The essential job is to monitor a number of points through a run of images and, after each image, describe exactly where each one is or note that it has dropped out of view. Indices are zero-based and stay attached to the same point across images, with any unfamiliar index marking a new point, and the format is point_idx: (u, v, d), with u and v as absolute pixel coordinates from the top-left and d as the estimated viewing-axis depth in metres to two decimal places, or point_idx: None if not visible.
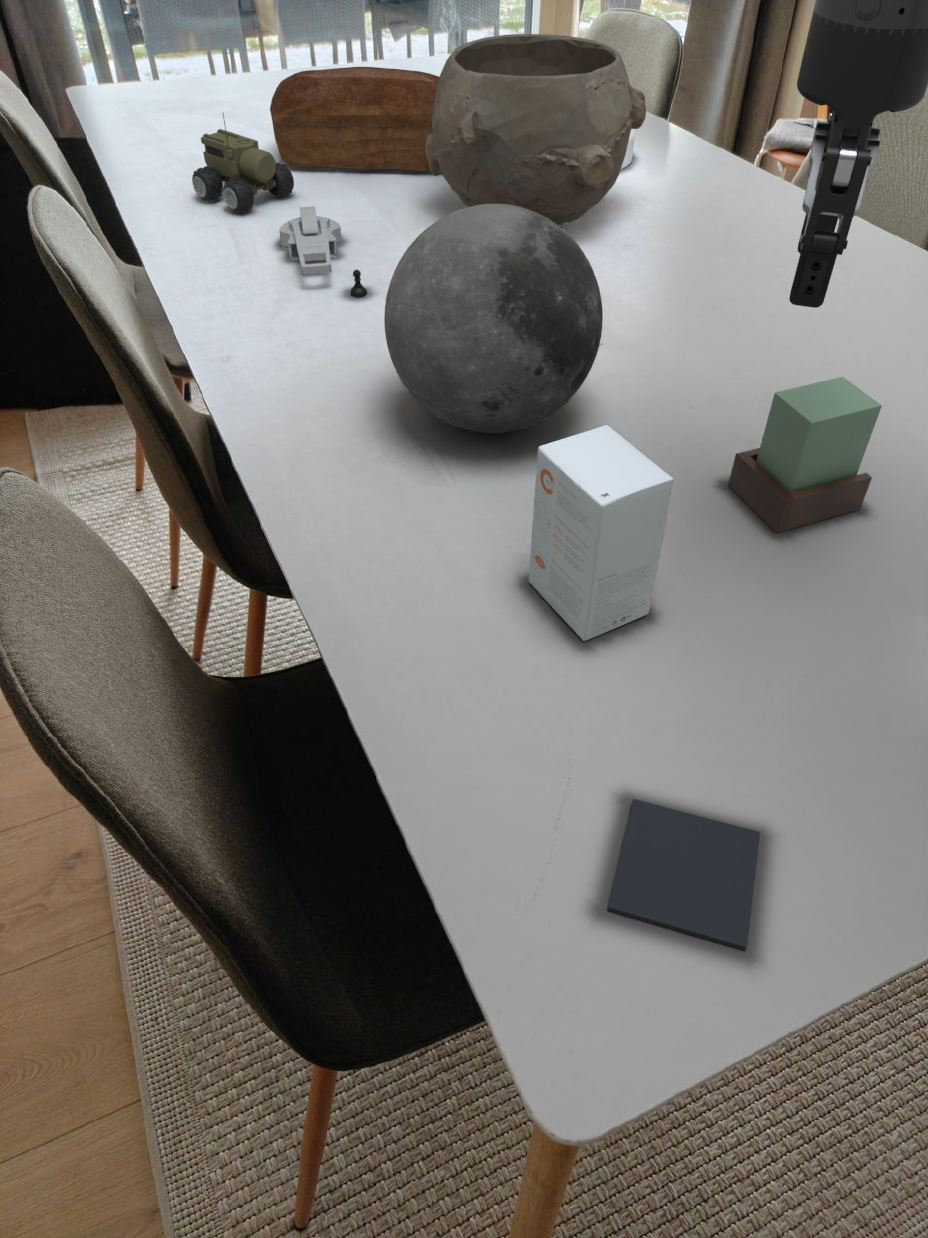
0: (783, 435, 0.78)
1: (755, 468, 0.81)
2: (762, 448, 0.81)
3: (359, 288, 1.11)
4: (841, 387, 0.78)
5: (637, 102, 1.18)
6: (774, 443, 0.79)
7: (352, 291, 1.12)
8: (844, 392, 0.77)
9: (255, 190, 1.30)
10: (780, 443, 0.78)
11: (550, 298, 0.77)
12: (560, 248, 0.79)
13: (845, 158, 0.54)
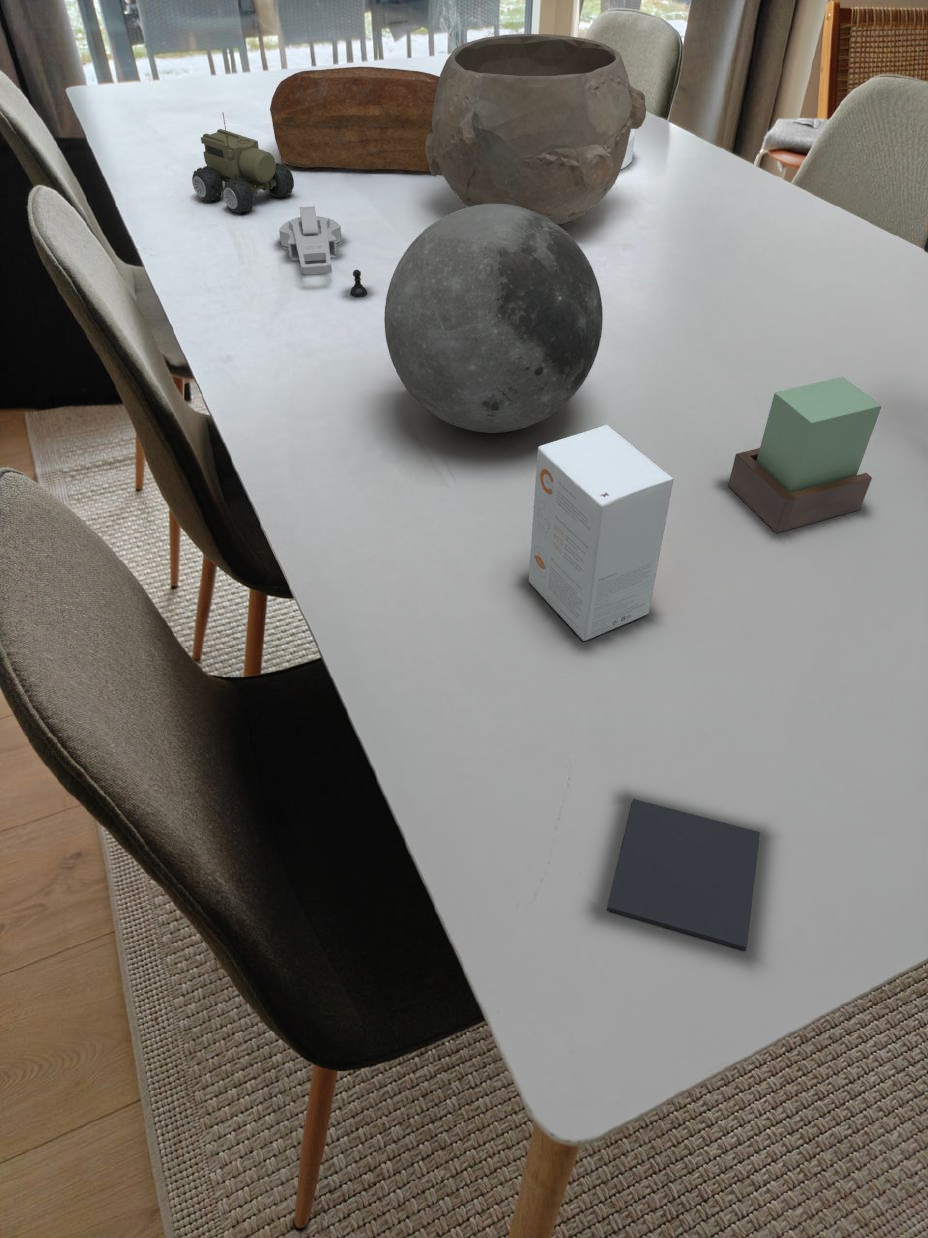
0: (783, 435, 0.78)
1: (755, 468, 0.81)
2: (762, 448, 0.81)
3: (359, 288, 1.11)
4: (841, 387, 0.78)
5: (637, 102, 1.18)
6: (774, 443, 0.79)
7: (352, 291, 1.12)
8: (844, 392, 0.77)
9: (255, 190, 1.30)
10: (780, 443, 0.78)
11: (550, 298, 0.77)
12: (560, 248, 0.79)
13: None
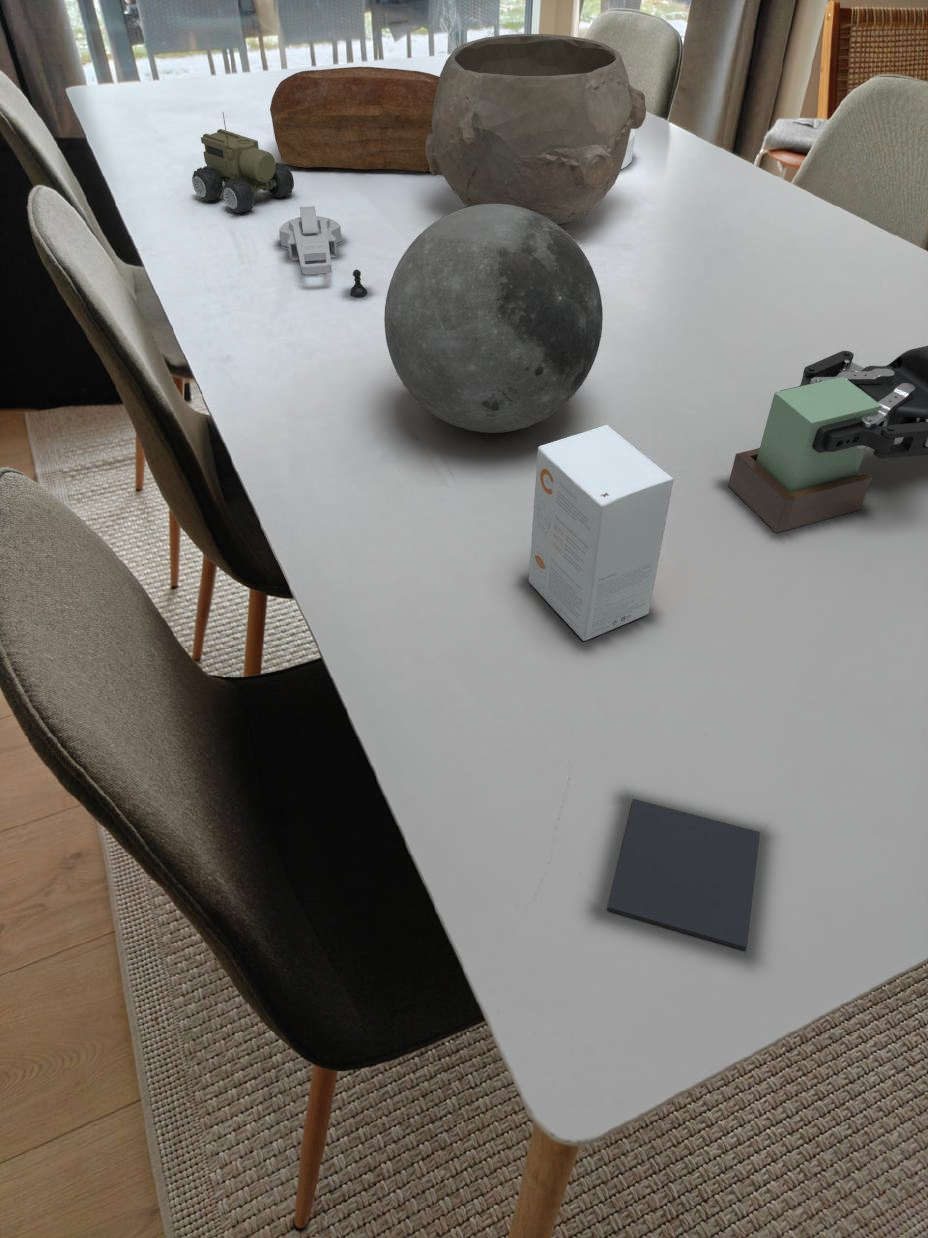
0: (783, 435, 0.78)
1: (755, 468, 0.81)
2: (762, 448, 0.81)
3: (359, 288, 1.11)
4: (841, 387, 0.78)
5: (637, 102, 1.18)
6: (774, 443, 0.79)
7: (352, 291, 1.12)
8: (844, 392, 0.77)
9: (255, 190, 1.30)
10: (780, 443, 0.78)
11: (550, 298, 0.77)
12: (560, 248, 0.79)
13: None
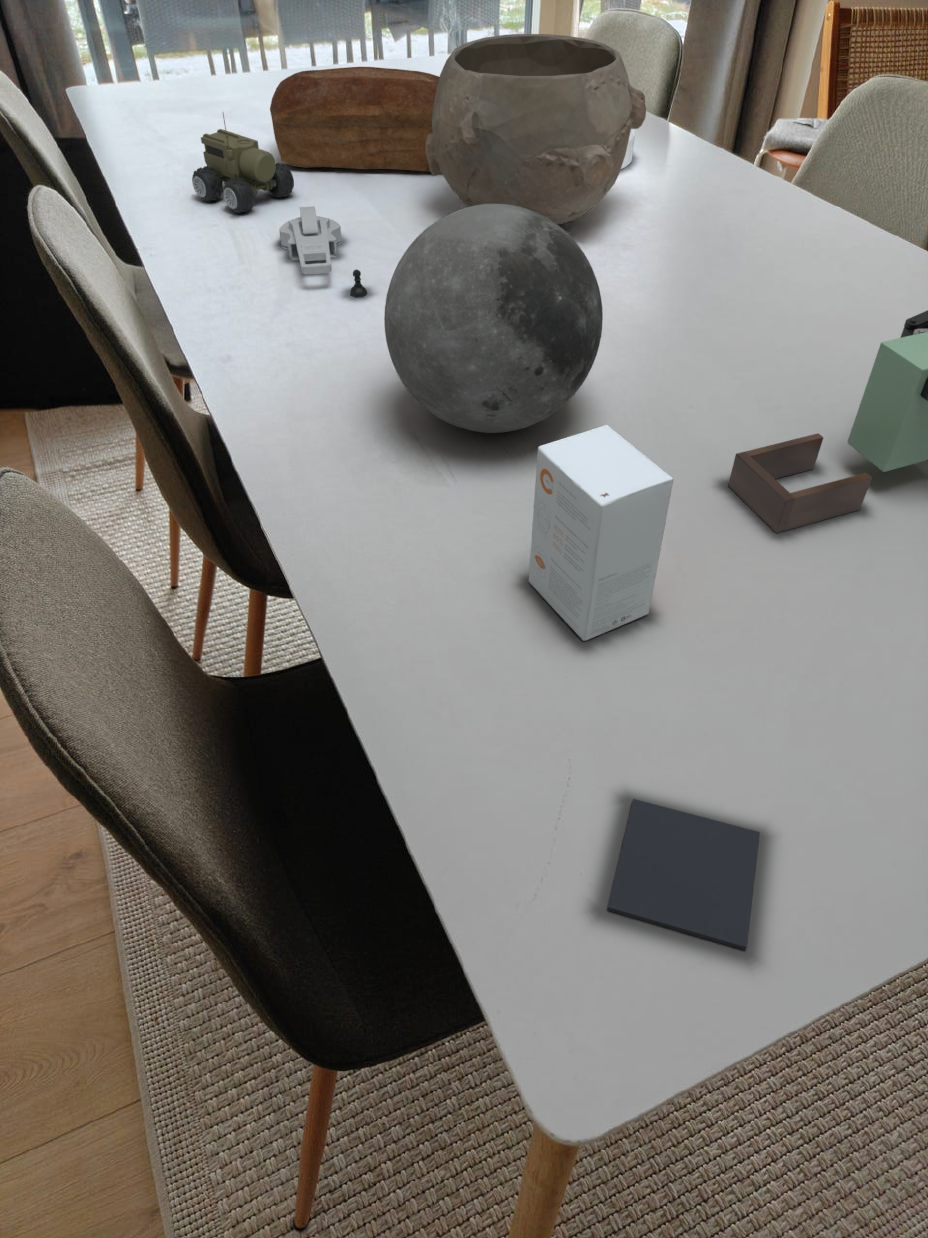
0: (890, 384, 0.78)
1: (755, 468, 0.81)
2: (864, 399, 0.82)
3: (359, 288, 1.11)
4: None
5: (637, 102, 1.18)
6: (878, 394, 0.80)
7: (352, 291, 1.12)
8: None
9: (255, 190, 1.30)
10: (886, 393, 0.79)
11: (550, 298, 0.77)
12: (560, 248, 0.79)
13: None
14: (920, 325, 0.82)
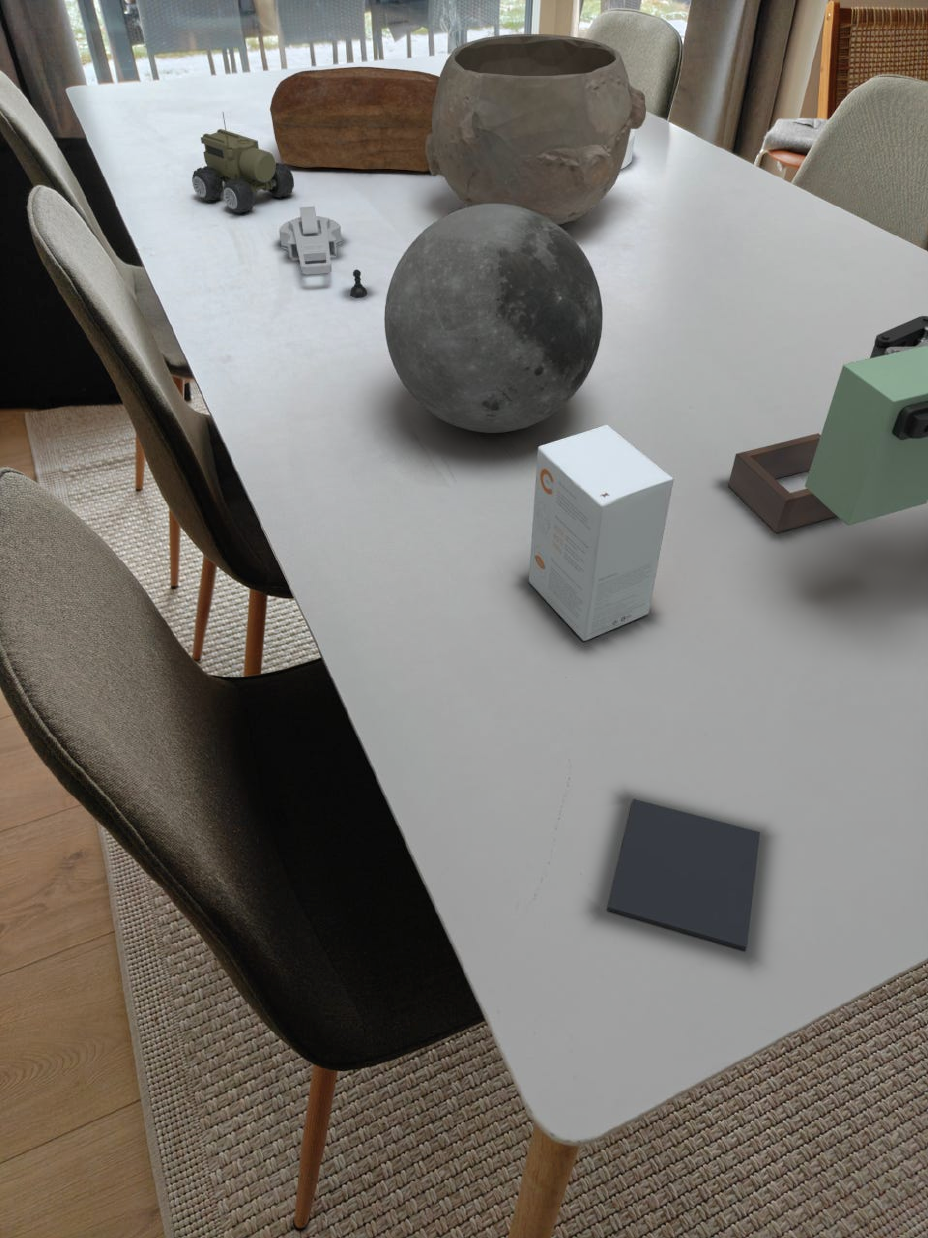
0: (854, 418, 0.62)
1: (755, 468, 0.81)
2: (824, 435, 0.65)
3: (359, 288, 1.11)
4: (926, 358, 0.62)
5: (637, 102, 1.18)
6: (840, 429, 0.64)
7: (352, 291, 1.12)
8: None
9: (255, 190, 1.30)
10: (849, 429, 0.63)
11: (550, 298, 0.77)
12: (560, 248, 0.79)
13: None
14: (894, 342, 0.65)
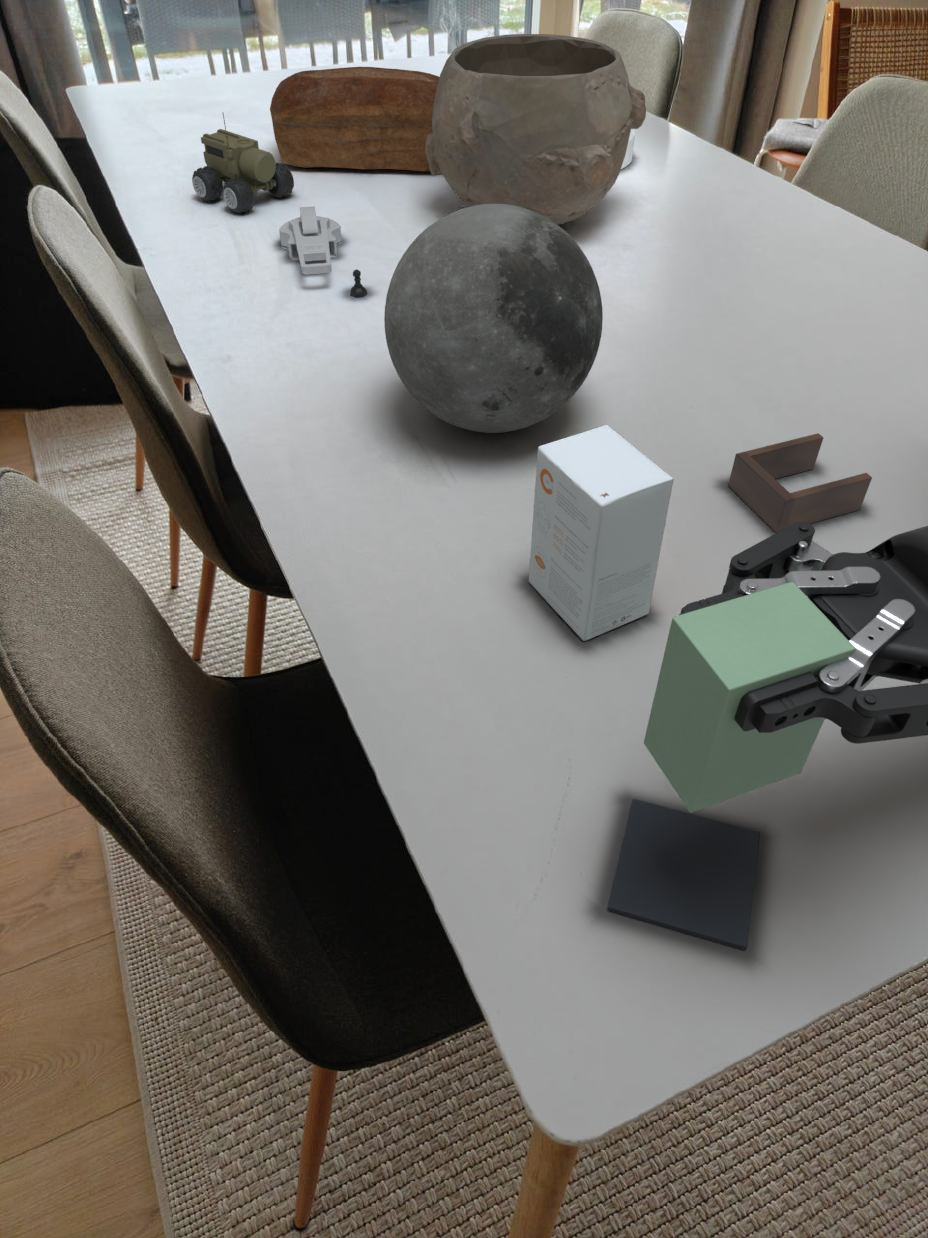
0: (688, 689, 0.45)
1: (755, 468, 0.81)
2: (659, 693, 0.49)
3: (359, 288, 1.11)
4: (788, 606, 0.46)
5: (637, 102, 1.18)
6: (675, 695, 0.47)
7: (352, 291, 1.12)
8: (793, 618, 0.45)
9: (255, 190, 1.30)
10: (684, 700, 0.46)
11: (550, 298, 0.77)
12: (560, 248, 0.79)
13: None
14: (754, 568, 0.49)
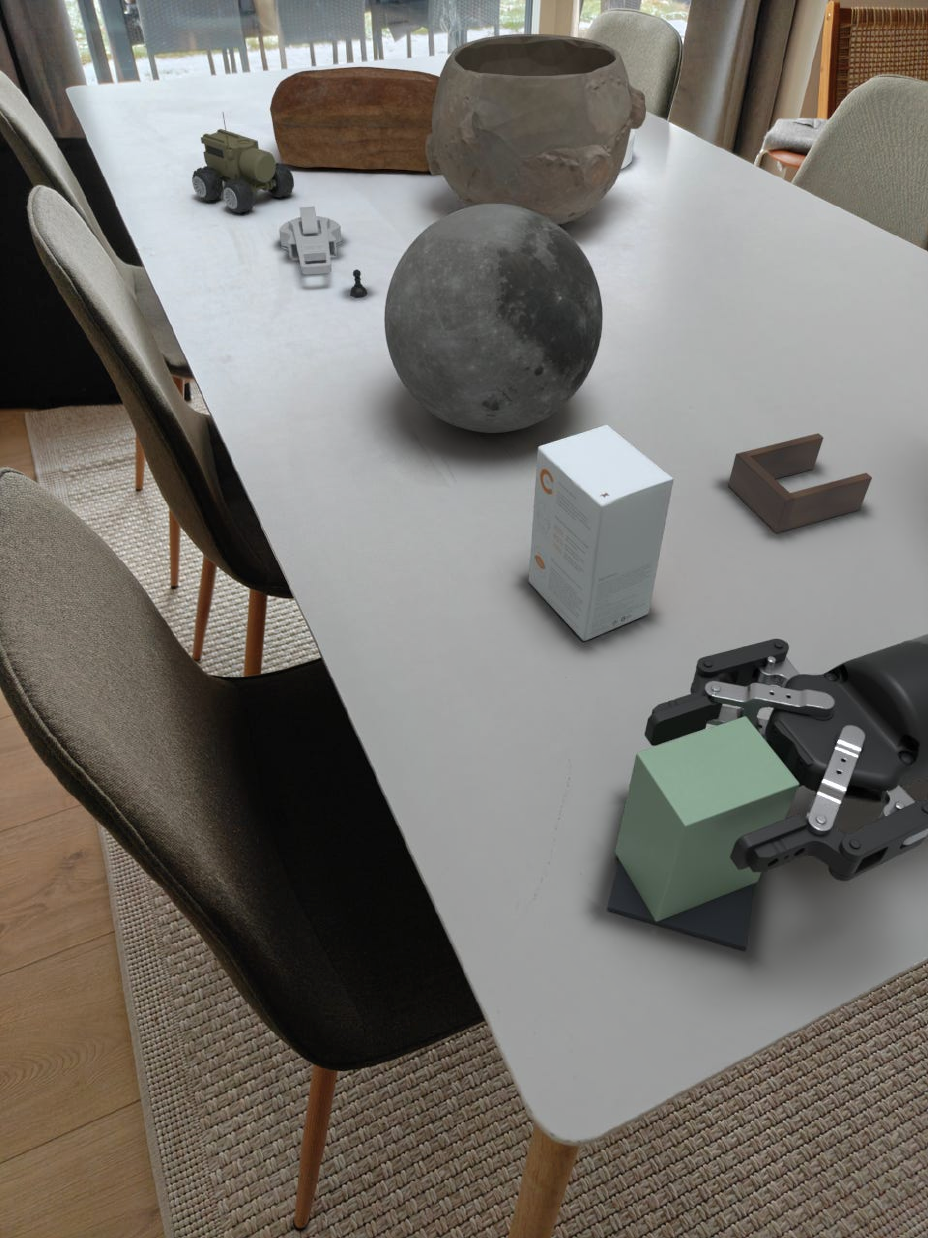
0: (651, 816, 0.51)
1: (755, 468, 0.81)
2: (627, 814, 0.54)
3: (359, 288, 1.11)
4: (740, 741, 0.51)
5: (637, 102, 1.18)
6: (640, 818, 0.52)
7: (352, 291, 1.12)
8: (744, 754, 0.50)
9: (255, 190, 1.30)
10: (648, 825, 0.51)
11: (550, 298, 0.77)
12: (560, 248, 0.79)
13: None
14: (717, 672, 0.54)
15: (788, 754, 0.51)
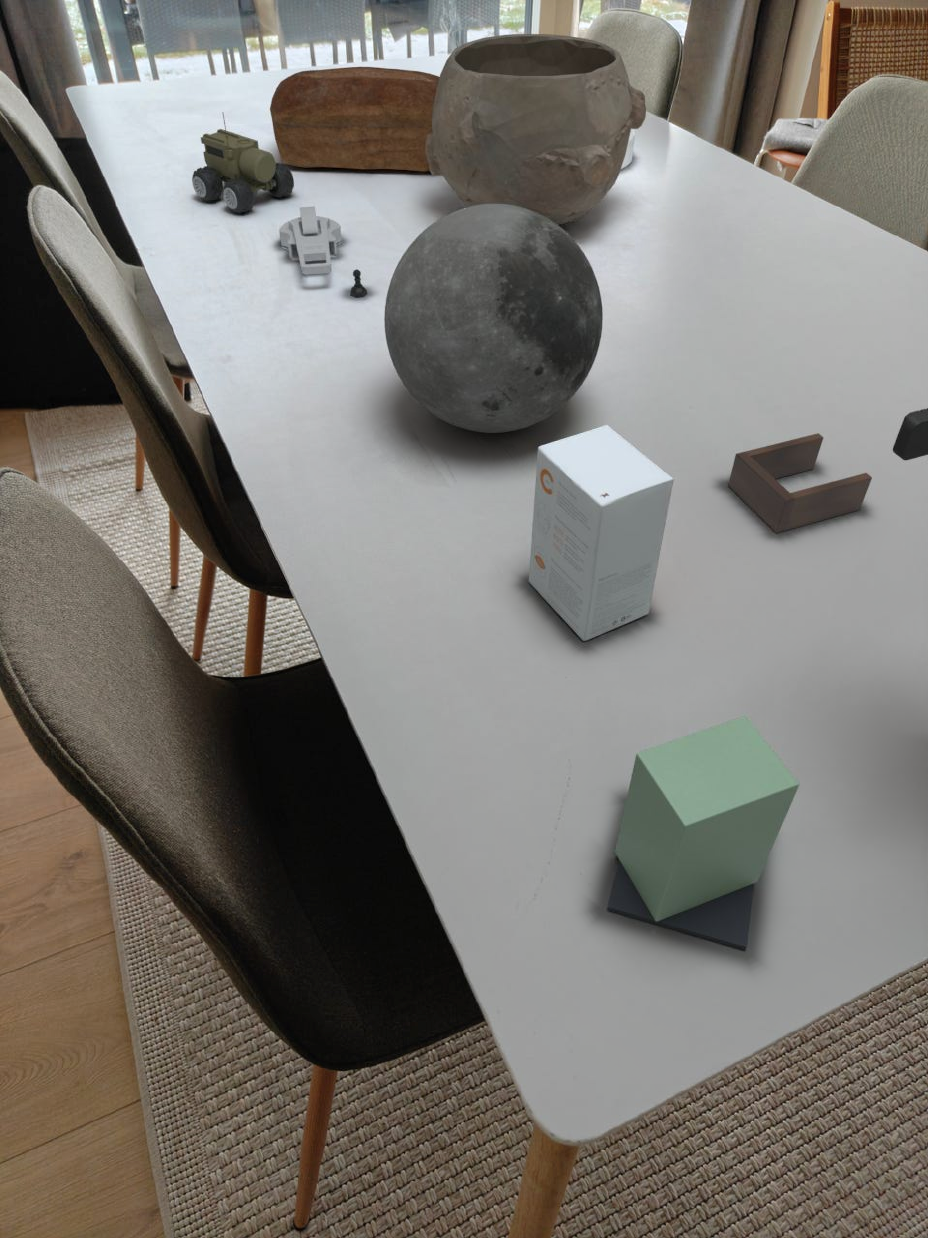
0: (651, 816, 0.51)
1: (755, 468, 0.81)
2: (627, 814, 0.54)
3: (359, 288, 1.11)
4: (740, 741, 0.51)
5: (637, 102, 1.18)
6: (640, 818, 0.52)
7: (352, 291, 1.12)
8: (744, 754, 0.50)
9: (255, 190, 1.30)
10: (648, 825, 0.51)
11: (550, 298, 0.77)
12: (560, 248, 0.79)
13: None
14: None
15: None
